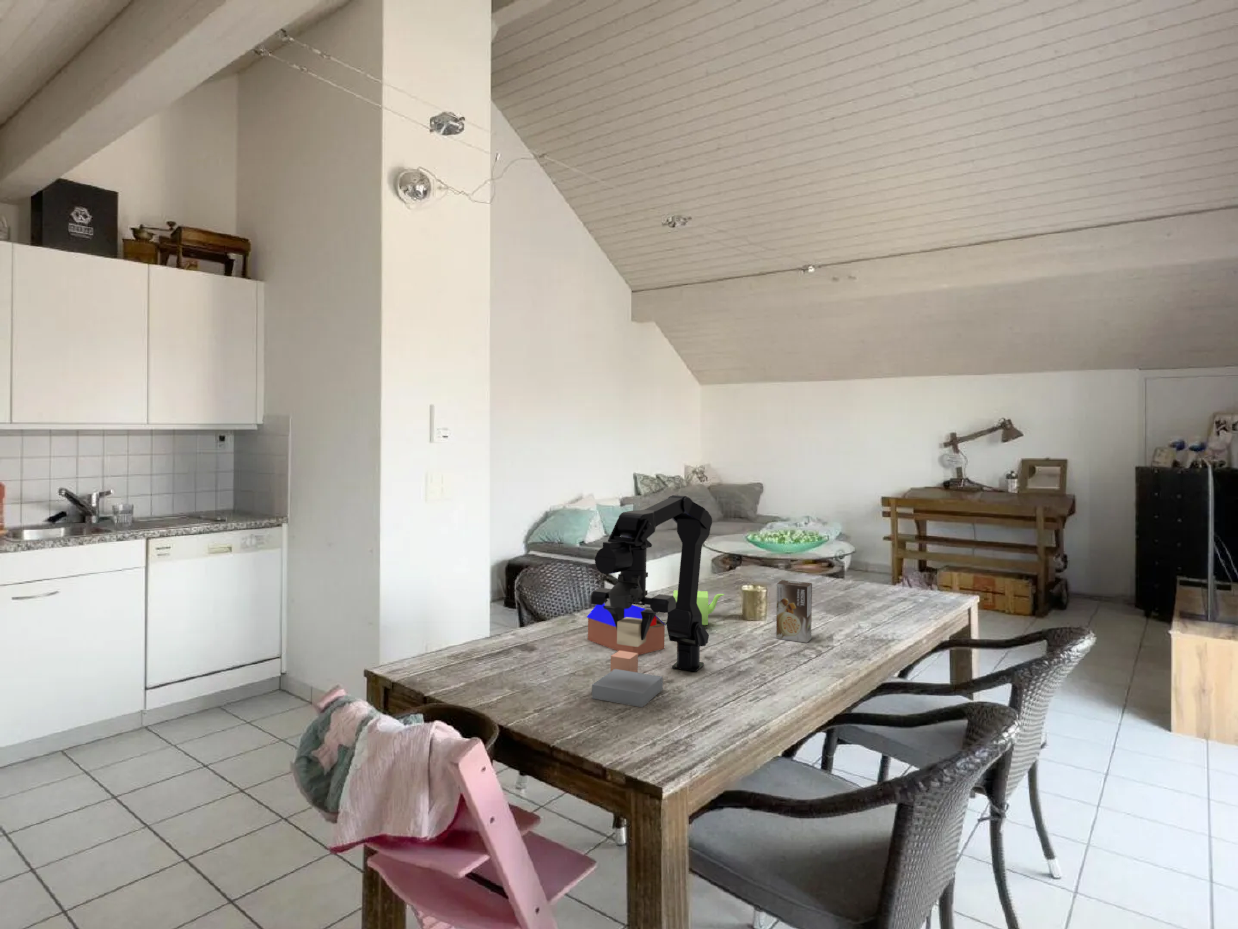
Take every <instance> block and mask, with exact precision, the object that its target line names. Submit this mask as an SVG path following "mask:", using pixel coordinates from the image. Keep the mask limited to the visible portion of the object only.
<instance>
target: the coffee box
mask: <svg viewBox="0 0 1238 929" xmlns="http://www.w3.org/2000/svg"><path fill="white" fill-rule="evenodd" d="M812 592H813V583H812V582H804V581H796V580H786V579H781V580H779V581H778V583H777V584H776V613H775V614H776V618H775V619H776V623H775V624H776V627H775V629H776V630H775V631H776V635H775V636H776V637H775V639H777V640H783V641H793V642H799V643H806V644H807V643H809V641H810V640H811V639H812V622H813V621H812V619H813V618H812V614H813V613H812V611H813V610H812V608H813V607H812V606H813V604H812V602H813V593H812Z"/></svg>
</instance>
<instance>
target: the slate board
mask: <svg viewBox="0 0 1238 929" xmlns="http://www.w3.org/2000/svg"><path fill="white" fill-rule="evenodd" d="M610 671H611V670H610ZM663 678H664V677H663V675H655V674H649V673H643V672H642V673H641V672H639V671H638V672H631V671H625V670H619V669H614V670H613V671H611V672H608V673H607V674H606V675H604V676H603V677H601V678H600V679H598V680H597V681H595V682H594V683H592V684H591V699H593V700H601V701H605V702H612V703H615V704H616V703H617V704H623V705H627V706H633V707H639V708H643V707H645V706H646V705H647V704H648V703H649V702H650V701H651V700H652V699H654V698H655V697H656V696H657V695H658V694H660V692H662V691H663V686H664V685H663V681H664V680H663Z"/></svg>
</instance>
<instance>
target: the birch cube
mask: <svg viewBox="0 0 1238 929" xmlns="http://www.w3.org/2000/svg"><path fill="white" fill-rule="evenodd" d="M641 626H642V619H638V618H631V617H625V618H623V619H621V620H620V621H618V622H617V644H620V645H627V646H634V647H638V646H640V645H642V644H643V643H645V642H646V637H645V639H644V640H641Z"/></svg>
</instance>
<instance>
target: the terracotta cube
mask: <svg viewBox="0 0 1238 929" xmlns="http://www.w3.org/2000/svg"><path fill="white" fill-rule="evenodd" d="M614 669H619V670H625V671H631V672H638V673H639V671H638V670H639V655H638V653H633V652H626V651H617V652H615V653H613V654H611V655H610V672H611V671H613V670H614ZM610 672H609V673H610Z"/></svg>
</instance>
